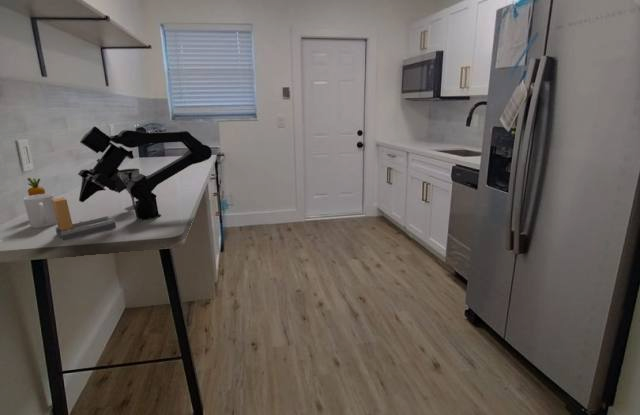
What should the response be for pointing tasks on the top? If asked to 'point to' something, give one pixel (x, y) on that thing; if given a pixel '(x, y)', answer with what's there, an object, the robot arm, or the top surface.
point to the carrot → (35, 187)
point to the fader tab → (62, 214)
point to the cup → (40, 210)
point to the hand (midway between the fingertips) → (80, 201)
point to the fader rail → (87, 227)
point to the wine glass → (125, 177)
